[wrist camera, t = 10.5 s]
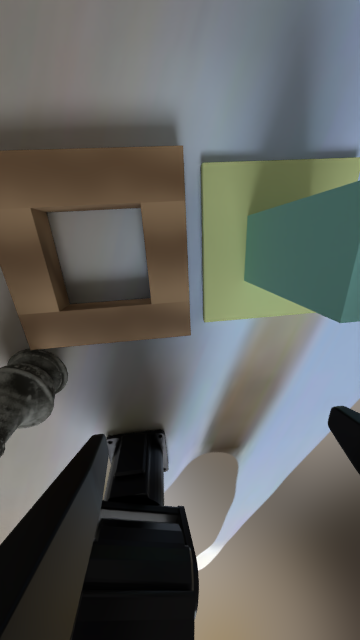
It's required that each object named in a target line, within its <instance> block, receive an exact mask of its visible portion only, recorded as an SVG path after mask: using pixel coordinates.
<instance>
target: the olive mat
mask: <svg viewBox="0 0 360 640" xmlns="http://www.w3.org/2000/svg"><path fill="white" fill-rule="evenodd" d="M359 172H360V157H359V158H330V159H300V160H271V161H241V162H212V163H202V165H201V205H202V265H203V320H204V322H214V321H226V320H237V319H248V318H260V317H271V316H282V315H294V314H305V313H316V312H314V311H312V310H310V309H307V308H305V307H303V306H300V305H298V304H296V303H294V302H291V301H289V300H287V299H285V298H282V297H280V296H278V295H275V294H273V293H271V292H269V291H266V290H264V289H262V288H260V287H257V286H255V285H253V284H250V283H248V282H246V281H244V271H245V253H246V235H247V217H248V215H251V214H255V213H258V212H261V211H264V210H267V209H270V208H274V207H277V206H280V205H283V204H286V203H290V202H293V201H296V200H299V199H302V198H306V197H309V196H312V195H315V194H318V193H321V192H325V191H328V190H331V189H334V188H337V187H341V186H344V185H347V184H350V183H353V182H357V181H358V177H359Z"/></svg>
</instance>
